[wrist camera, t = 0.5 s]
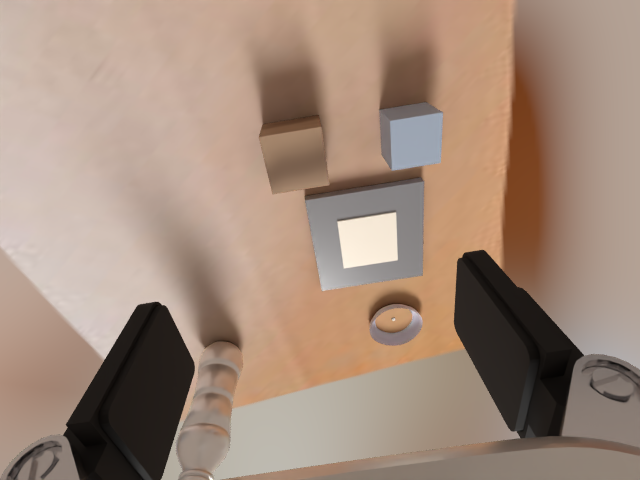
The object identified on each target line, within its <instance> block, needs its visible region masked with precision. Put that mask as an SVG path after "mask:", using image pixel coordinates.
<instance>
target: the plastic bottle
mask: <svg viewBox="0 0 640 480" xmlns="http://www.w3.org/2000/svg"><path fill="white" fill-rule="evenodd" d="M242 368H243V356H242V353H241V351H240V350H239V348H238V347H237V346H235V345H234V344H232V343H230V342H225V341H218V342H214V343H212V344H211V345H209V346H208V347H206V348H205V349H204V351H203V353H202V355H201V357H200V360H199V366H198V379H197V384H196V389H195V394H194V397H193V401H192V403H191V406H190V409H189V412H188V414H187V417H186V419H185V421H184V424H183V426H182V428H181V431H180V433H179V435H178V438H177V441H176V454H177V457H178V461H179V463H180V466H181V468H182V470H183V472H181V473H180V475H179V479H178V480H213V479H214V477H213V475H212V473H213V472H214V471H215V470H216V469H217V468H218V466H219V465H220V464H221V463H222V461H223V460H224V459H225V457H226V455H227V453H228V451H229V448H230V430H231V429H230V428H231V427H230V426H231V412H232V404H233V397H234V393H235V389H236V385H237V382H238V379H239V377H240V374H241V371H242Z"/></svg>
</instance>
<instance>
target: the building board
mask: <svg viewBox="0 0 640 480" xmlns="http://www.w3.org/2000/svg"><path fill="white" fill-rule="evenodd" d="M305 203H306V208H307V214H308V219H309V224H310V230H311V235H312V240H313V246H314V251H315V256H316V262H317V267H318V272H319V278H320V283H321V288H322V291H324V290H331V289H337V288H344V287H350V286H357V285H364V284H370V283H377V282H383V281H390V280H396V279H403V278H409V277H416V276H422V275H423V218H424V181H423V179H422V178H415V179H408V180H402V181H396V182H390V183H383V184H377V185H371V186H365V187H358V188H352V189H346V190H340V191H334V192H327V193H321V194H315V195H309V196H305Z"/></svg>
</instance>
